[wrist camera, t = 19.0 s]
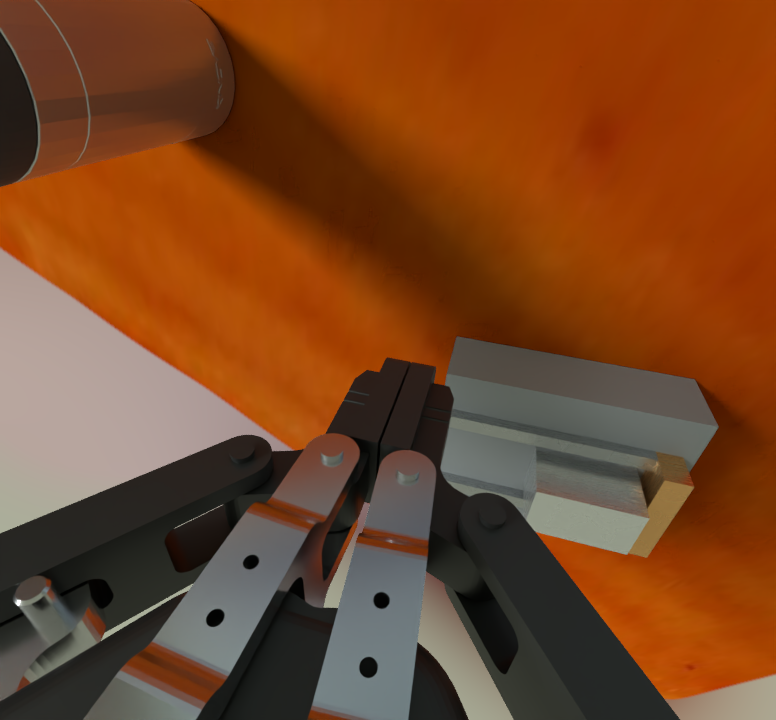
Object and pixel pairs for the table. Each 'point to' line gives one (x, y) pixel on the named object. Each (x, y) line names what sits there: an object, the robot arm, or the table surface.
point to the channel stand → (571, 424)
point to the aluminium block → (584, 500)
